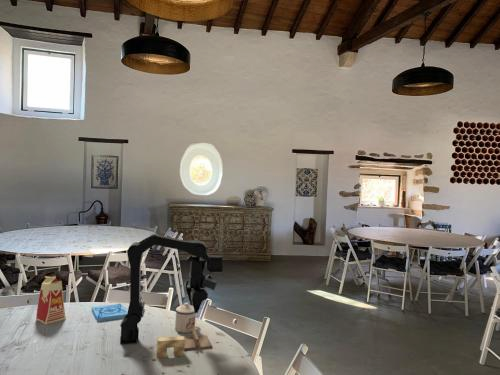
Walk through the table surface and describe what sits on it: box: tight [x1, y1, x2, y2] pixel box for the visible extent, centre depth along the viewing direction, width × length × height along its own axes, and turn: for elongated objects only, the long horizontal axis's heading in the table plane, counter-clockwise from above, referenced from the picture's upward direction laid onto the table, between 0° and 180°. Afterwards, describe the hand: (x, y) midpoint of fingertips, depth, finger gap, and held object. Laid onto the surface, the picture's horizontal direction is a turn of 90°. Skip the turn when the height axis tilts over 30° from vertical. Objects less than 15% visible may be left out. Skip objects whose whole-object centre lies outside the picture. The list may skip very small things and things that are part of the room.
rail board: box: [184, 329, 213, 351], centre depth 159 cm, size 12×10×4 cm
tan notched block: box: [155, 335, 185, 359], centre depth 148 cm, size 10×3×6 cm, turn 108°
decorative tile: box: [91, 303, 128, 322], centre depth 184 cm, size 14×14×2 cm
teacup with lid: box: [174, 302, 197, 334], centre depth 174 cm, size 12×9×12 cm
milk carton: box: [35, 275, 66, 325], centre depth 173 cm, size 9×9×20 cm
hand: (194, 308), depth 161 cm, fingers open, 9 cm apart
